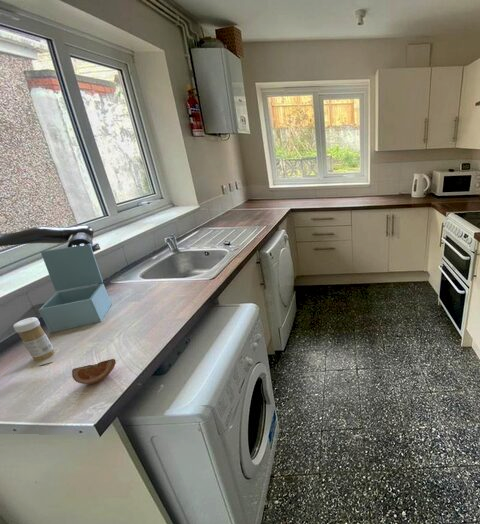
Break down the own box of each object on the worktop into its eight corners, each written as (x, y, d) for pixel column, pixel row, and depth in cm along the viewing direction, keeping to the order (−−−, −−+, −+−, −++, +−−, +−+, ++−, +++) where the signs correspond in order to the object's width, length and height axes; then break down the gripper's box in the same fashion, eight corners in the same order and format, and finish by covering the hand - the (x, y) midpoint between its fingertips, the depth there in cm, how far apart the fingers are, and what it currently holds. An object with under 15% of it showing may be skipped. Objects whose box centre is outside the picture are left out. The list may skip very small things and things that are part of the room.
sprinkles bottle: (52, 354, 84) (30, 315, 79) (62, 357, 82) (41, 318, 77) (32, 365, 80) (8, 325, 75) (42, 368, 78) (18, 327, 73)
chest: (101, 321, 99) (91, 299, 96) (50, 332, 94) (37, 310, 91) (111, 303, 111) (103, 283, 107) (67, 313, 106) (56, 292, 102)
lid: (89, 244, 104) (90, 244, 104) (40, 251, 98) (41, 251, 99) (102, 282, 107) (103, 282, 108) (55, 291, 102) (56, 290, 102)
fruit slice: (122, 365, 78) (116, 351, 76) (116, 382, 72) (108, 367, 71) (84, 376, 75) (76, 361, 73) (74, 394, 69) (65, 379, 67)
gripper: (104, 249, 127) (104, 260, 114) (63, 257, 119) (59, 269, 107) (97, 233, 124) (97, 242, 111) (55, 240, 116) (50, 250, 104)
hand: (78, 255), depth 109 cm, fingers closed
